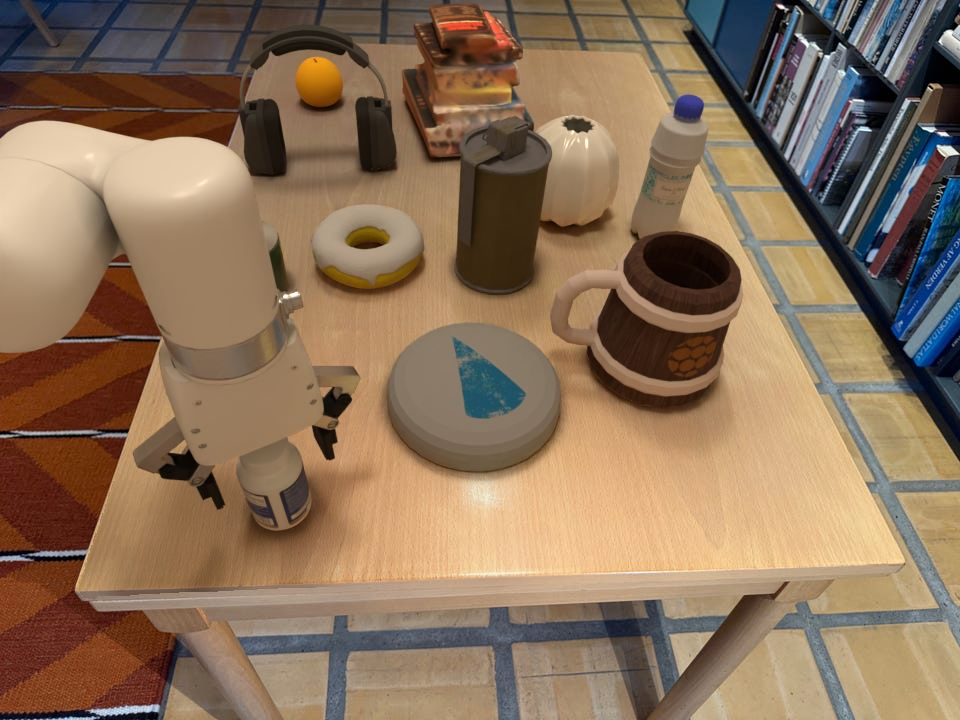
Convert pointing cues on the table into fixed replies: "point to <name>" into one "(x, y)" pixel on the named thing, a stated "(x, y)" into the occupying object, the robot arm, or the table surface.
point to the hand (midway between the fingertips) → (272, 470)
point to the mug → (657, 318)
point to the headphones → (263, 115)
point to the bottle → (670, 167)
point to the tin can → (276, 257)
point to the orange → (319, 82)
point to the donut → (371, 264)
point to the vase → (578, 170)
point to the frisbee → (473, 396)
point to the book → (462, 76)
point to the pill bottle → (275, 485)
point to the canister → (500, 205)
